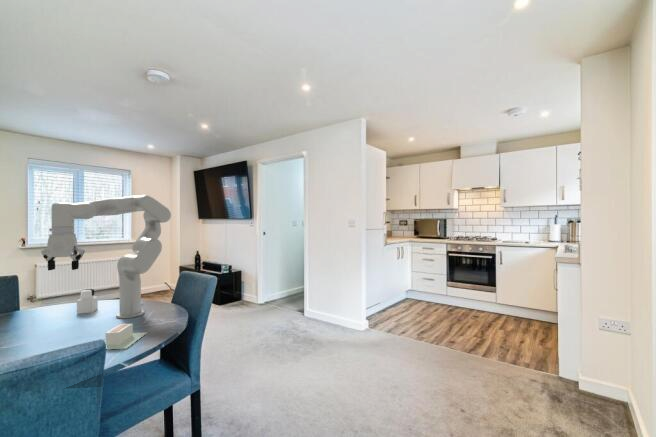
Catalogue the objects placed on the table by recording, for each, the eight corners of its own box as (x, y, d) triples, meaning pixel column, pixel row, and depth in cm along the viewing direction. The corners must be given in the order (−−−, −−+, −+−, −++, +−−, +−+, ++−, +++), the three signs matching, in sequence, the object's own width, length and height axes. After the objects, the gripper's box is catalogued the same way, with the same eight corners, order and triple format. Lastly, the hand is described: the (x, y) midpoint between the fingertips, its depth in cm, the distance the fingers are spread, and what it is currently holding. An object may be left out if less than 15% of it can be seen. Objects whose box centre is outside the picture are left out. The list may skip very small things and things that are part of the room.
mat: (113, 335, 136) (113, 333, 136) (147, 333, 137) (147, 332, 137) (88, 350, 120) (88, 349, 120) (126, 349, 121) (126, 347, 121)
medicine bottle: (82, 310, 173) (82, 288, 173) (97, 309, 175) (97, 287, 175) (76, 314, 166) (76, 291, 166) (92, 312, 169) (92, 290, 168)
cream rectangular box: (105, 345, 123) (105, 332, 123) (120, 335, 133) (120, 323, 133) (118, 344, 124) (118, 331, 124) (132, 335, 134) (132, 323, 134)
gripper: (34, 231, 133) (35, 271, 133) (77, 231, 135) (78, 270, 135) (48, 230, 141) (49, 268, 141) (89, 230, 142) (89, 267, 142)
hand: (63, 269), depth 138 cm, fingers open, 9 cm apart
